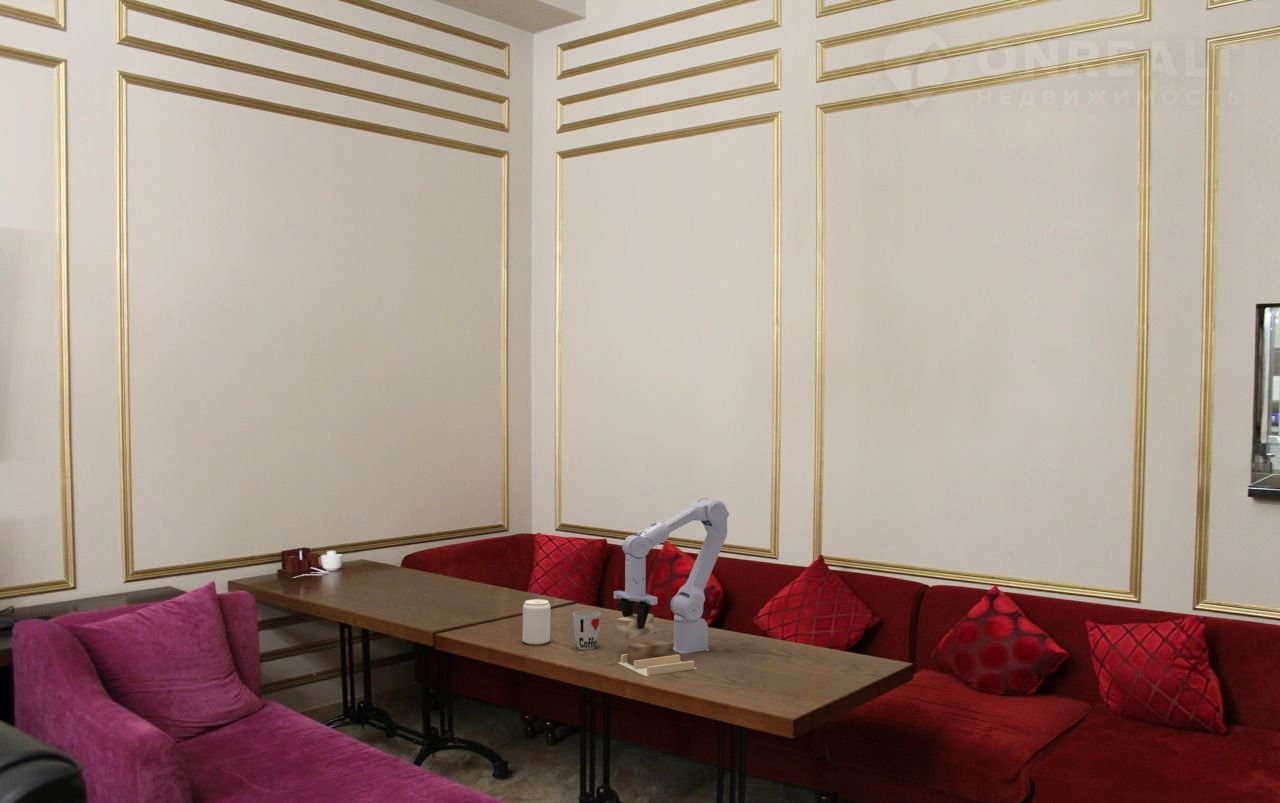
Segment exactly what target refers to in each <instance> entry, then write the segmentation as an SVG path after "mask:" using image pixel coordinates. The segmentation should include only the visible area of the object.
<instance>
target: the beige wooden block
mask: <svg viewBox="0 0 1280 803" xmlns="http://www.w3.org/2000/svg"><path fill="white" fill-rule="evenodd" d="M654 619H655V618H654V614H652V613H649V614H648V616H647V620H646V623H645V628H642V629H638V624H637V613H636V614H633V615H631V616H627V617H619V618H615V619H614V620H615V622H614V624H615V625H614V637H615V638H617V639H620V640H621V639H623V640H629V639H632V638H633V639H634V638H636V637H641V636H644V635H648V634H652V633H654V625H655V624H654V623H655V622H654V621H655V620H654Z"/></svg>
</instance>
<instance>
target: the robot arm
mask: <svg viewBox="0 0 1280 803" xmlns="http://www.w3.org/2000/svg"><path fill="white" fill-rule="evenodd" d="M729 516H730V513H729V511H728V508H727V506H726V505H725V503H724V502H722V501H720V500H713V499H709V498H705V497H703V498H702V497H701V498H700V499H699V498H698V500H696V501H693V502H692V503H691V504H689V505H688V506H686V507H685V508H683V509H682V510H681V511H679V512H678V513H675V515H673V516H672V517H670V518H668V519H667V520H665V521H664V522H662V521H652V522H650V524H649V526H647V527H646V528H644V529H642V530H638V531H636V535H635V534H632V535H628V536H627V537H625V538H624V539H625V540H624V541H623V544H622V545H621V549H622V551H623V553H624V554H625V563H624V564H625V565H624V566H625V567H624V569H625V570H624V579H625V580H624V582H625V583H624V588H625V589H624V590H616V591H613V599H615V600H616V599H619V601H617V606H618V608H619V609H620V612H621V613H622V616H623V617H627V616H631V615H634V608H635V611H636V614H637V624H638V629H642V628H645V623H646V620H647V616H648V614H650V612H651V610H652V608H653V606H654V605H658V596H653V595H651V594H647V593H646V575H647V574H646V573H647V572H646V569H647V568H646V565H647V564H646V556H647V555H648V554H649V552H650V550H651V549H653V548H655V547H657V546H658V545H660V544H661V543H662V544H663V542H665V541H667V540H668V539H670V538H669V536H670V534H671V533H672V532H674V531H676V530H678V529H679V528H682V527H683V526H685V525H687V524H689V523H691V522H692V521H697V522H700V523H702V525H703V527H704V529H705V532H706V537H705V538H704V541H703V543H702V546H701V548H700V550H699V552H698V554H697V557H696V559H695V562H694V564H693V566H692V569H691V571H690V573H689V577H687V578H688V579H687V581H686V583H685V584H683V585H682V586H681V587H680V588H679V590H678V591H677V593H676V594H675V595H674V596H673V597H672V599H671V600H670V610H671V611H672V613H673V614H674V617H673V618H674V619H673V651H675V652H677V653H679V654H688V653H689V654H690V653H696V652H703V651H707V652H709V651H710V649H709V627H708V623H707V621H706V619H704V618H702V615H703V612H704V603H705V601H706V597H705V592H704V590H705V588H706V586H707V584H708V581H709V579H710V577H711V573H712V571H713V569H714V566H715V564H716V562H717V560H718V558H719V555H720V553H721V550H722V548H723V545H724V543H725V540H726V538H727V536H728V518H729ZM623 617H622V618H623Z"/></svg>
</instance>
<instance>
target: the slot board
mask: <svg viewBox="0 0 1280 803" xmlns="http://www.w3.org/2000/svg"><path fill="white" fill-rule="evenodd" d="M617 664H619V665H622V666H623V667H625V668H627V669H629V670H632V671H634V672H635V673H638V674H640V675H642V676H644V677H649V676H655V675H663V674H670V673H675V672H677V673H678V672H683V671H690V670H697V669H698V668H697V667H695V660H687V661H681V655H680V654H673V655H672V656H664V657H657V658H649V659H642V660H635V661H634V666H632V665H630V664H628V653H624V654H620V662H617Z"/></svg>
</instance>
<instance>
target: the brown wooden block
mask: <svg viewBox="0 0 1280 803" xmlns="http://www.w3.org/2000/svg"><path fill="white" fill-rule="evenodd" d="M673 646H674V642H671V641H669V640H667V639H666V640H665V639H663V640H656V641H655V640H654V641H649V642H648V641H647V642H641V643H639V642H638V643H632V644H628V645H627V654H628V664H630V665H632V666H634V661H635V660H642V659H649V658H657V657H664V656H672V655H674V650H673Z"/></svg>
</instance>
